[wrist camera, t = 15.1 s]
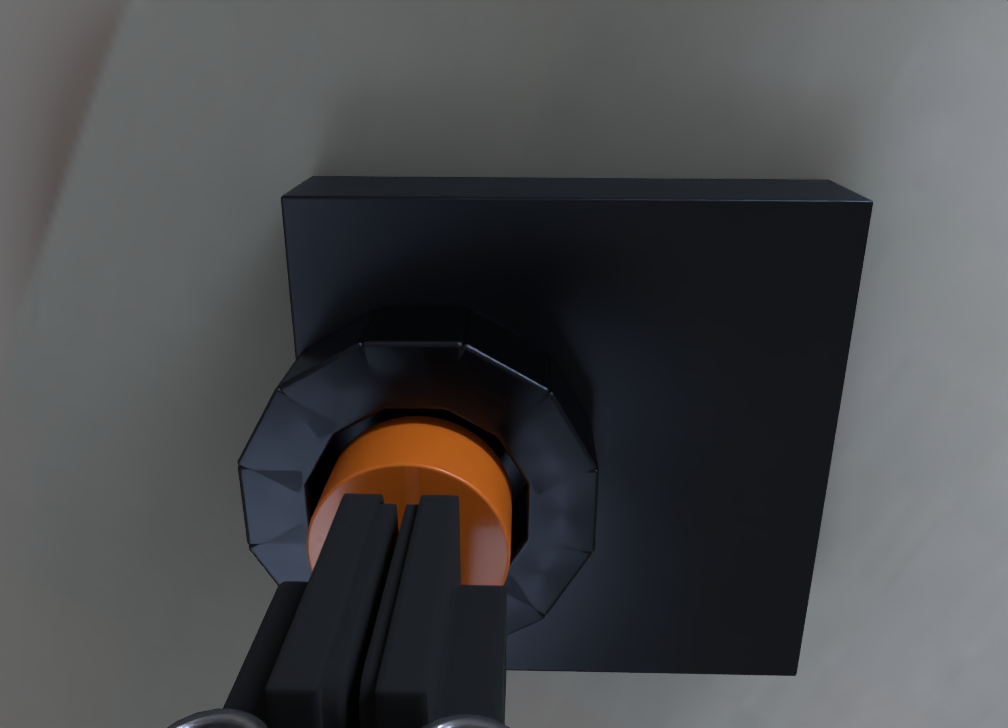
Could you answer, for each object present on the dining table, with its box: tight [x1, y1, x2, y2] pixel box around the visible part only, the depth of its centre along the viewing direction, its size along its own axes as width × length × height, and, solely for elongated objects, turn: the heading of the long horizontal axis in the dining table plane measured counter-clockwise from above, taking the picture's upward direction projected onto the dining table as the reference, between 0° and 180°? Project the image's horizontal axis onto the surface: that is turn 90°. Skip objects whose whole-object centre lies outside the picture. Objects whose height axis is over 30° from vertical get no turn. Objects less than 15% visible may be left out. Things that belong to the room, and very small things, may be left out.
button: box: [307, 416, 512, 585], centre depth 14 cm, size 3×3×2 cm
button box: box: [238, 176, 873, 676], centre depth 16 cm, size 11×10×4 cm
